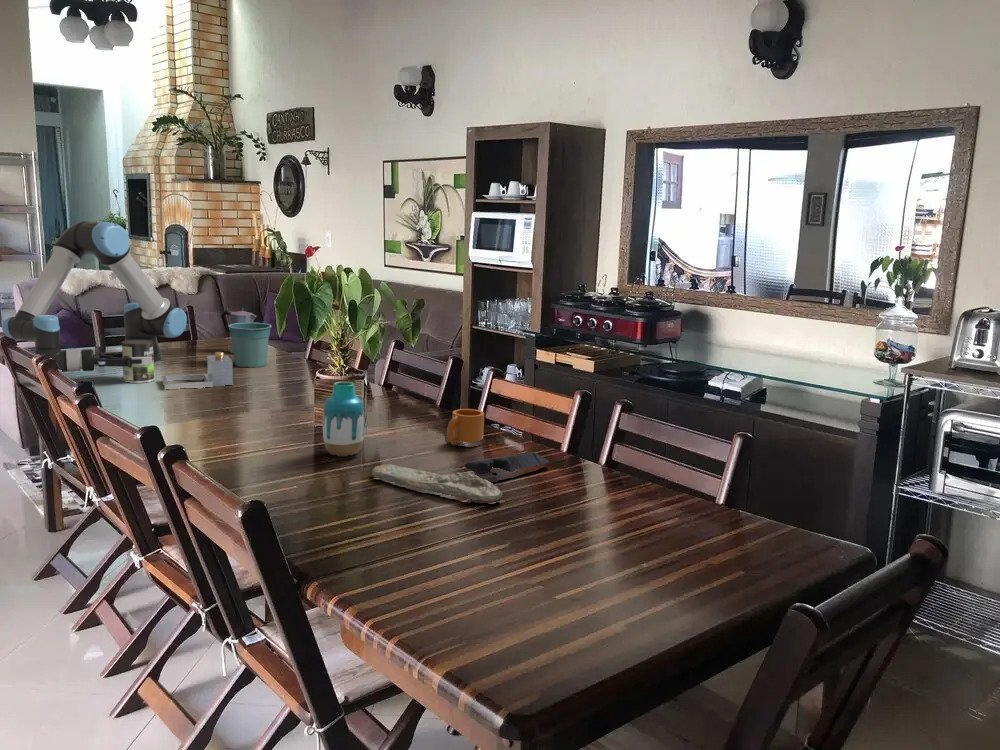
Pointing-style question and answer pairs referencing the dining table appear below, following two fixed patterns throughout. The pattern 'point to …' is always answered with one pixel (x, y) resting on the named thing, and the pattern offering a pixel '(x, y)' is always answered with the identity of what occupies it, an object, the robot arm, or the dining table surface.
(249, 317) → the moka pot
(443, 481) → the long grey stone
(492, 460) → the dark slate chunk
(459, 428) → the mug
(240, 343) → the flower pot
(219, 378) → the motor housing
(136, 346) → the coffee can
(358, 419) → the vase
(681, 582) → the dining table surface
